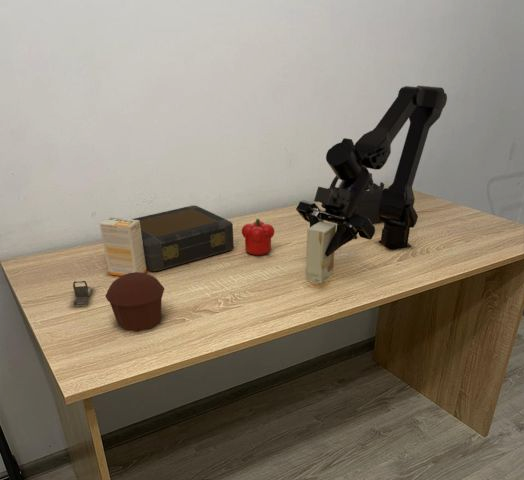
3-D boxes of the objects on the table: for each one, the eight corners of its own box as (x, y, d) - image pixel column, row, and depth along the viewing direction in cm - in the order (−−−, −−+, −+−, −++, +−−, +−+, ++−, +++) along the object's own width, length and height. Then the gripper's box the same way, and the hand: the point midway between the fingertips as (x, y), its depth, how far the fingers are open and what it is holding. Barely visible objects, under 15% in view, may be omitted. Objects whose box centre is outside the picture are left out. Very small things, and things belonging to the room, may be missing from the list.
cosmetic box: (321, 284, 120) (324, 232, 114) (304, 280, 122) (306, 229, 115) (334, 274, 125) (337, 223, 118) (317, 270, 127) (319, 220, 120)
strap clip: (78, 290, 123) (75, 273, 120) (92, 289, 123) (88, 272, 121) (73, 307, 116) (69, 289, 113) (87, 306, 116) (83, 288, 114)
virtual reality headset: (347, 233, 157) (355, 184, 147) (313, 201, 173) (318, 155, 164) (402, 225, 162) (412, 177, 153) (363, 195, 179) (371, 150, 170)
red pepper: (259, 244, 146) (259, 212, 141) (277, 252, 141) (277, 219, 136) (239, 251, 142) (238, 218, 137) (256, 259, 137) (256, 226, 132)
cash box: (196, 229, 156) (194, 203, 152) (236, 250, 142) (235, 221, 138) (117, 249, 143) (112, 221, 139) (152, 274, 130) (148, 244, 126)
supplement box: (147, 271, 131) (140, 219, 124) (137, 279, 127) (129, 226, 120) (118, 267, 134) (110, 216, 127) (108, 274, 130) (98, 222, 123)
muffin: (150, 302, 117) (144, 260, 112) (178, 321, 110) (173, 277, 105) (100, 320, 111) (92, 276, 105) (127, 341, 104) (119, 295, 98)
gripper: (301, 163, 118) (268, 225, 118) (373, 179, 108) (337, 246, 107) (322, 191, 127) (291, 248, 127) (389, 207, 117) (356, 270, 116)
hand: (317, 252), depth 119 cm, fingers closed on cosmetic box, 5 cm apart
